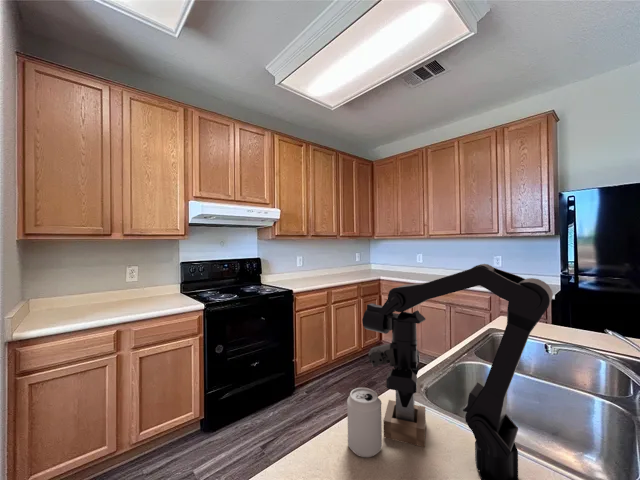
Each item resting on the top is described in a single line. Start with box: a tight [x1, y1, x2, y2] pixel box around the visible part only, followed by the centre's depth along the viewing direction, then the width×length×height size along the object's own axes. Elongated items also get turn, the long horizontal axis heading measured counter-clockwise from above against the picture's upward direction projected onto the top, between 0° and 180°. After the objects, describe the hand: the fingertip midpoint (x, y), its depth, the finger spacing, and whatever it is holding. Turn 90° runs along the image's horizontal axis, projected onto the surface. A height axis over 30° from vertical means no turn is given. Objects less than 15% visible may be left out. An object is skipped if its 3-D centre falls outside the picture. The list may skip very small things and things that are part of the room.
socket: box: [383, 399, 427, 448], centre depth 69 cm, size 9×9×4 cm
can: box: [346, 387, 383, 458], centre depth 63 cm, size 8×8×12 cm
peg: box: [395, 390, 416, 422], centre depth 69 cm, size 4×4×10 cm
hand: (405, 401), depth 69 cm, fingers closed on peg, 4 cm apart
